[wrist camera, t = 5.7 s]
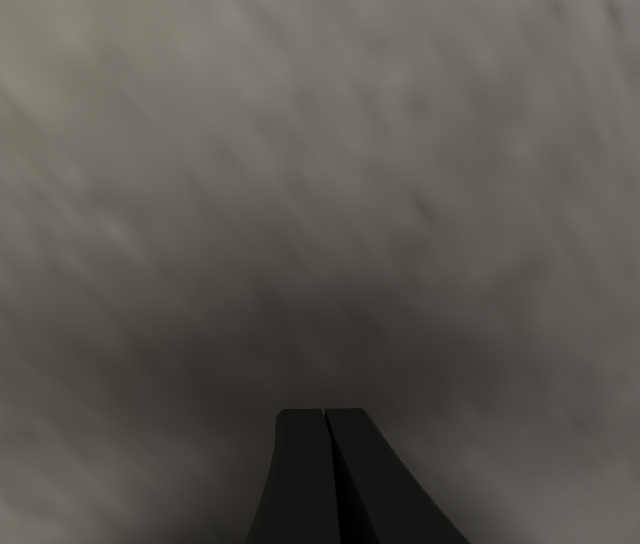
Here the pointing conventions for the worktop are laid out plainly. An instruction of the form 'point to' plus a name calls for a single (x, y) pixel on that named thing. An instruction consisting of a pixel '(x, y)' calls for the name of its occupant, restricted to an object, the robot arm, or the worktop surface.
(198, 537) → the worktop surface
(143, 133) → the worktop surface
